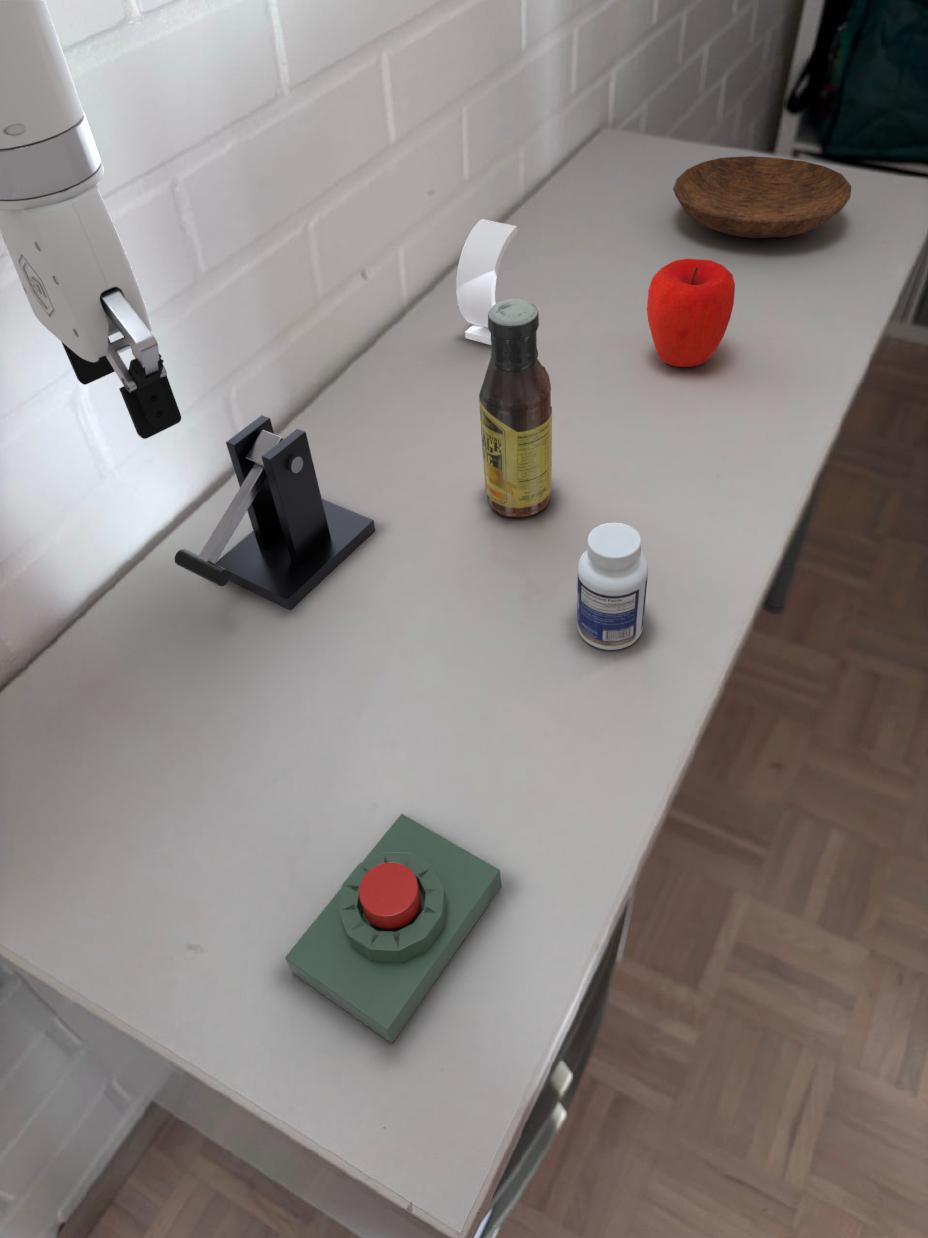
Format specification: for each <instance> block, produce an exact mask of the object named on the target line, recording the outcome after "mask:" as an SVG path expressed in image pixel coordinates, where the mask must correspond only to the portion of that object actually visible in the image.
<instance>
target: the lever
mask: <svg viewBox="0 0 928 1238" xmlns="http://www.w3.org/2000/svg"><path fill="white" fill-rule="evenodd" d="M283 439H284V438H283V437H282V436H280V435H277V434H276V433H274V434H272V433H270V432H267V431H265V430H262V431H261V433H260V435H259V436H258V438H257V440H256V441H255V443H254V444H253V446H252V448H251V449H250V451H249V453H248V454H247V456H246V459H247V460H248V461H250V462H251V463H252V464H253V465H254V466H253V467H252V469H251V471H250V472H249V474H248V476H247V477H246V479H245V481H244V482H243V484H242V485H241V487H240V486H239V489H238V490H237V492H236V493H235V495H234V497H233V498H232V500H231V502H230V504H229V505H228V507H227V509H226V510H225V512H224V513H223V515H222V517H221V518H220V520H219V522H218V523H217V524H216V527H215V528H214V530H213V531H212V533H211V535H210V537H209V538H208V539H207V541H206V543H205V545H204V547H203V548H202V550H201V551H200V552H199V555H198V554H196V553H194V552H193V551H190V550H188V549H185V548H182V549H179V550H177V552H176V553H175V554H174V555H175V556H174V562H175V565H177V566H179V567H180V568H183V569H185V570H186V571H188V572H191V573H192V574H195V575H197V576H199V577H201V578H203V579H205V580H207V581H209V582H211V583H213V584H215V585H216V586H218V587H224V586H226V585H227V584H228V583H229V582H230V580H229V579H230V572H229V571H228V570H227V569H225V568H223V567H221V566H219V565H216V564H215V563H216V562H217V561H218V560H219V559H220V556H221V554H222V553H223V551H224V550H225V548H226V546H227V544H228V543H229V541H230V540H231V538H232V537H233V534H234V533H235V531H236V530H237V528H238V526H239V525H240V523H241V522H242V520H243V518H244V516H245V515H246V513H247V512H248V511H247V510H248V508H249V506H250V505H251V503H252V502H253V500H254V498H255V497H256V495H257V493H258V492H259V490H260V488H261V487H262V485H263V483H264V482H265V480H266V478H267V475H266V471H265V468H264V464H263V461H262V456H263V455H264V454H265V453H267V452H268V451H269V450H270V449H272V448H273V447H274V446H276V445H277V444H278V443H279V442H281V441H282V440H283Z"/></svg>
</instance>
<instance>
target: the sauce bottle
mask: <svg viewBox="0 0 928 1238" xmlns="http://www.w3.org/2000/svg"><path fill="white" fill-rule="evenodd" d="M539 326H540V315H539V310H538V308H537V306H536V305H535V303H533V302H531V301H529V300H524V299H522V298H509V299H504V300H501V301H498V302H496V304H495V305H494V306H493V307H492V308H491V309H490V310H489V313H488V329H489V331H490V333H491V345H490V348H491V349H490V350H491V352H490V359H489V362H488V365H487V368H486V372H485V374H484V378H483V381H482V384H481V387H480V390H479V393H478V402H479V417H480V435H481V449H482V450H481V451H482V462H483V476H484V478H483V479H484V489H485V493H486V498H487V502H488V504H489V505H490V507H491V508H492V509H494V511H496V512H497V514H500V516H504V517H511V518H525V517H530V516H534V515H535V514H537V513H540V512H541V511H543V510H544V509H545V508H546V507H547V506H548V503H549V501H550V497H551V490H552V485H553V484H552V481H553V480H552V478H553V477H552V475H553V473H552V472H553V470H552V469H553V468H552V467H553V461H552V460H553V459H552V458H553V407H552V400H551V399H552V398H551V396H552V395H551V392H552V386H551V384H552V383H551V380H550V375H549V372H547V369H546V367H545V366H543V365H542V363H541V362H540V361H539V359H538V357H539V351H538V347H537V345H538V344H537V343H538V342H537V332H538V330H539Z"/></svg>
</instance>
